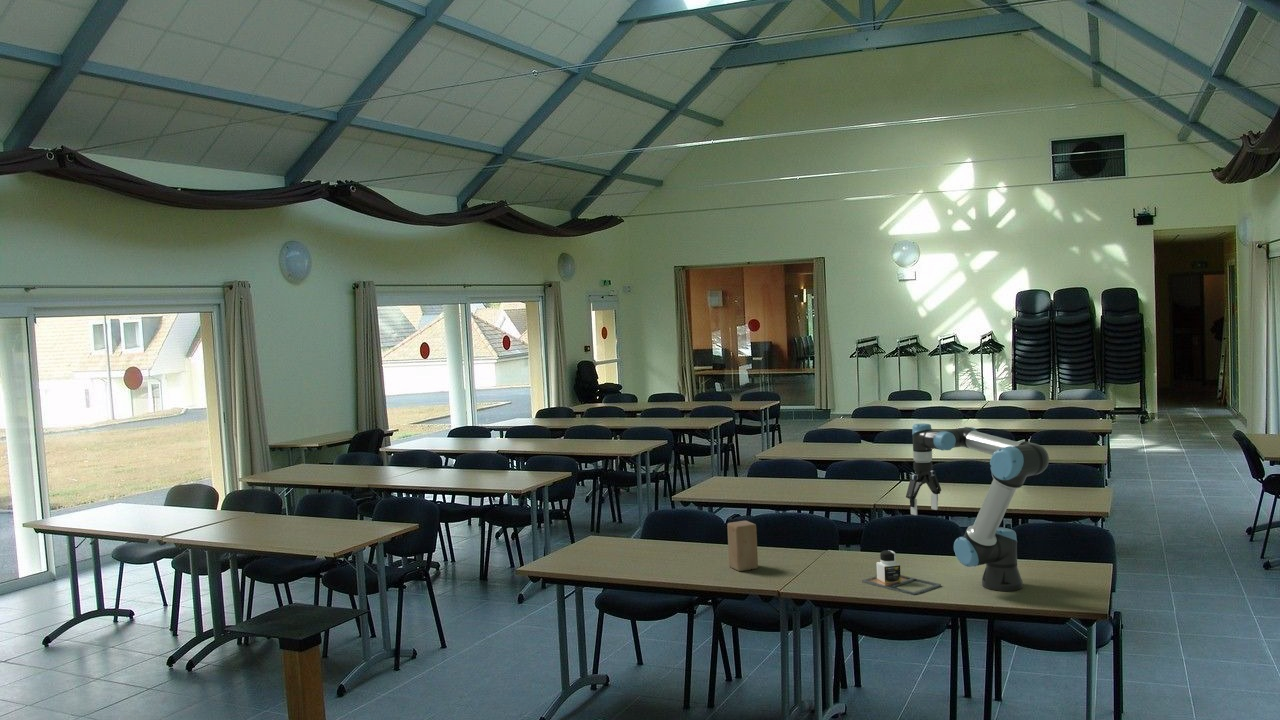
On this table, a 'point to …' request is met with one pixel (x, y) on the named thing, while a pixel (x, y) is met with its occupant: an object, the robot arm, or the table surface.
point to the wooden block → (742, 545)
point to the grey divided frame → (903, 581)
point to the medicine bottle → (888, 568)
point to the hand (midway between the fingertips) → (924, 512)
